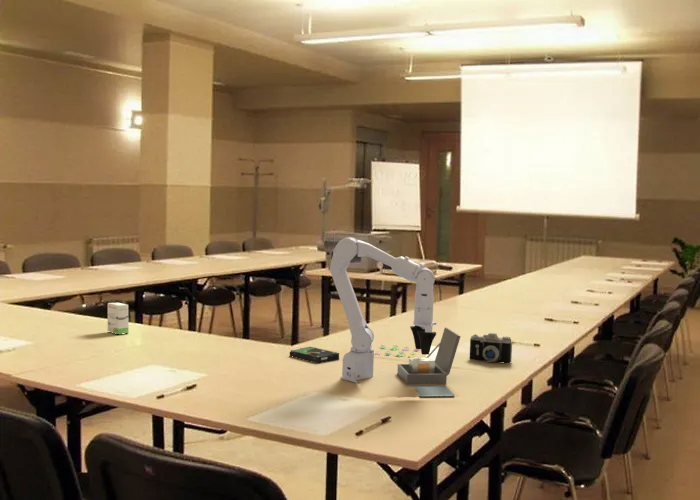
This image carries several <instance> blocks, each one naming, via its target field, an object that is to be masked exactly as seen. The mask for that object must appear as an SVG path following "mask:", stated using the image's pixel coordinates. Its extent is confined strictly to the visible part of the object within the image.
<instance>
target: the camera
mask: <svg viewBox="0 0 700 500" xmlns="http://www.w3.org/2000/svg"><path fill="white" fill-rule="evenodd" d="M512 353H513V342H512V339H511V337H510V336H502V337H499V336H498V334H497V333H493V332H492V333H491V332H489V333H488V334H483V336H481V335H480V336H479V335H477V334H473V335H471V337H470V339H469V360H470V361H477V360H479V361H478V362H486V361H490V362H489V363H496V362H504V363H503V364H505V363H509V364H511V363H512V360H513V359H512ZM510 362H511V363H510Z"/></svg>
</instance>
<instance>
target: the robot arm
mask: <svg viewBox="0 0 700 500" xmlns="http://www.w3.org/2000/svg"><path fill="white" fill-rule="evenodd" d="M332 252H333V253H332V258H331V261H330V265H329V271H330V275H331V277H332V280H333V282H334V286H335V289H336V291H337V294H338V297H339V299H340V300H339V301H341V305H342V308H343V311H344V313H345V317H346V319H347V322H348V326H349V330H350V331H349V332H350V334H351V337H350V338H351V340H350V342H351V347H350V350H349V352H345V354H344V355H343V357H342V368H341V369H342V371H341V372H342V373H341V374H342V375H341V376H340V377H339V378H340V379H342V380H345V381H349V382H353V383H355V384H360V381H359V380H363V379H371V378H373V377H374V363H375V362H374V359H375V348H374V347H373V346H372V343H373V341H374V340H375V339H374V338H375V334H374V332H373V330H372V329H371V327H369V326H368V323H367V321H366V319H365V317H364V316H363V313H362V309H361V307H360V305H359V302H358V299H357V296H356V293H355V290H354V288H353V285H352V282H351V279H350V276H349V273H348V272H347V269H348V267H349V266H350V263H351V260H353V259H354V257H356V256H357V257H358V258H359V257H361V258H363V257H368V258H371V259H373V260H374V261H377V262H380V263H382V264H384V265H386V266H387V267H391V270H392V273H393V274H395V275H397V276H399V277H401V278H403V279H405V280H406V281H410V282H411V283H413V282H414V283H415V293H414V308H413V321H412V322H413V324H412V326H411V325H410V326H409V328H410V331H411V333H412V336H413V341H414V347H415V349H418V350H420V352H421V355H424V356H426V355H429V352H430V348H431V346H432V345H433V344H432V343H433V341H434V339H435V338H436V336H437V332H436V331H433V326H434V325H435V326H436V325H437V322H436V321H434V319H433V318H434V295H435V294H434V284H435V280H436V279H435V275H434V272H433V270H431V269H429V268H428V267H424V265H423V264H422V263H421V264H418V263H416V262H414V261H412V260H411V259H410V257H408V256H406V255H405V257H404V256H398V257H395V256H393V255H391V254H390V253H388V252H385V251H384V250H381V248H378V247H376V246H374V245H372V244H371V243H368V242H366V241H363V240H361V239H357V238H355V237H353V236H347V237H345V238H342V239H341V240H339V241H338V242H337V244H336V245H335V247H334V248H333V251H332Z"/></svg>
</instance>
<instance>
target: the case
mask: <svg viewBox="0 0 700 500" xmlns="http://www.w3.org/2000/svg"><path fill="white" fill-rule="evenodd" d="M460 340H461V335H459V334H458V333H456V332H455V331H453V330H452V329H450V328H448V327H444V329H443V332H442V337H441V339H440V342H438V343H437V345H436V347H435V348H434V349H433V350H432V351H431V353H430V354H429V355H428V356H427V357H426V356H425V358H429V357H430V355H431V354H432V353H433V352H434V351H435V350H436V349H437V348H438V347H439V349H438V352H437V355H436V357H435V360H434V361H435V372H434V374H409V363H398V364H397V375H398V376H399V377H400V378H401V379H402V380H403V382H404V383H405V384H406V385H408V386H409V385H412V386H417V385H447V378H448V377H447V376H449V375H450V373H451V369H452V366H453V363H454V359H455V355H456V353H457V349H458V346H459V343H460Z"/></svg>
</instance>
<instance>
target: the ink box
mask: <svg viewBox="0 0 700 500" xmlns="http://www.w3.org/2000/svg"><path fill="white" fill-rule="evenodd" d="M107 331H110V332H113V333H116V334H122V333H128V334H129V304H125V303H121V302H108V303H107Z"/></svg>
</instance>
